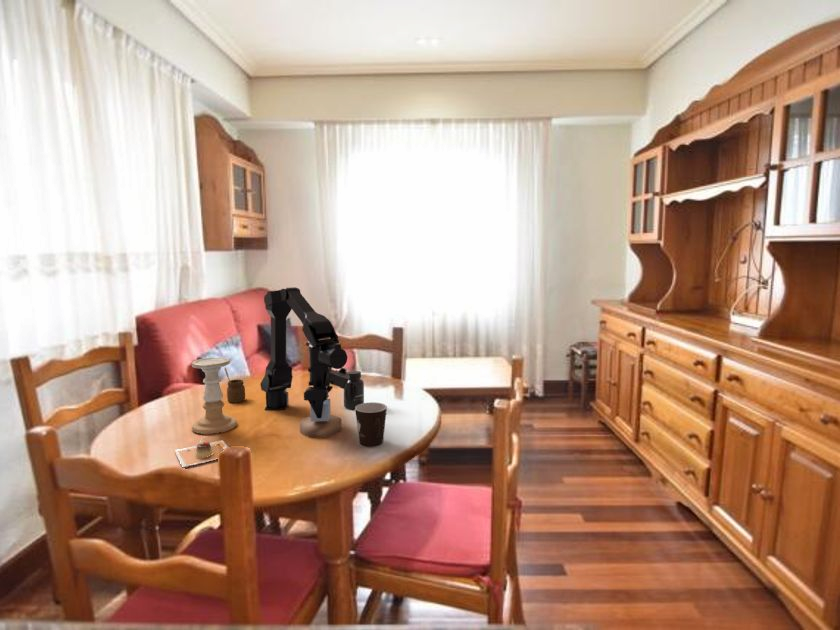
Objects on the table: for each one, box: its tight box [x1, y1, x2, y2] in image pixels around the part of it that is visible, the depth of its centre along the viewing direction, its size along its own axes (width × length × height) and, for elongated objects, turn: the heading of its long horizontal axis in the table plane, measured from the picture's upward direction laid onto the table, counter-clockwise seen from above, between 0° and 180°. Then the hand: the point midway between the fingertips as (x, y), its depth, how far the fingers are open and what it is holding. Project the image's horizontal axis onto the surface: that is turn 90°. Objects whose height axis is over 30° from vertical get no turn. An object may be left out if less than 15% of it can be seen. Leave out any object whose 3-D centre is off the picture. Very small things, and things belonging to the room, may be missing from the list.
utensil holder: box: [224, 366, 246, 404], centre depth 167 cm, size 6×6×12 cm
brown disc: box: [299, 414, 343, 438], centre depth 139 cm, size 12×12×2 cm
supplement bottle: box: [343, 370, 365, 410], centre depth 160 cm, size 7×7×12 cm
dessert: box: [174, 438, 229, 468], centre depth 122 cm, size 12×12×5 cm
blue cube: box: [309, 398, 332, 421], centre depth 139 cm, size 5×5×5 cm
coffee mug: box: [354, 401, 388, 448], centre depth 128 cm, size 12×9×10 cm
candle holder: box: [191, 356, 238, 435], centre depth 140 cm, size 12×12×20 cm
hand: (320, 414), depth 139 cm, fingers closed on blue cube, 5 cm apart
